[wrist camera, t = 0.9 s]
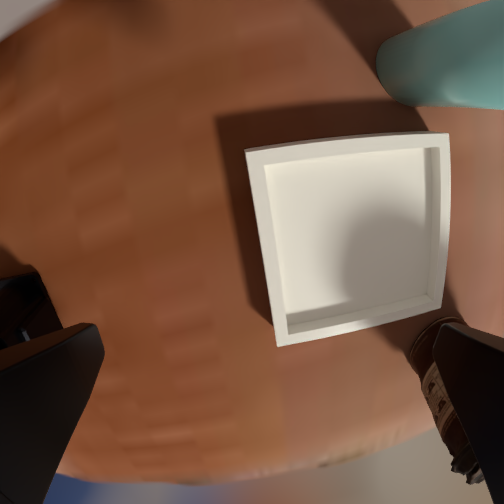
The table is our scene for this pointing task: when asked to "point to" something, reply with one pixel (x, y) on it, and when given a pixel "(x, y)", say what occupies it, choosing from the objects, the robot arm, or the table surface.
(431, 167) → the tray
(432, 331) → the coffee cup
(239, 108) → the table surface
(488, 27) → the teal cylinder
